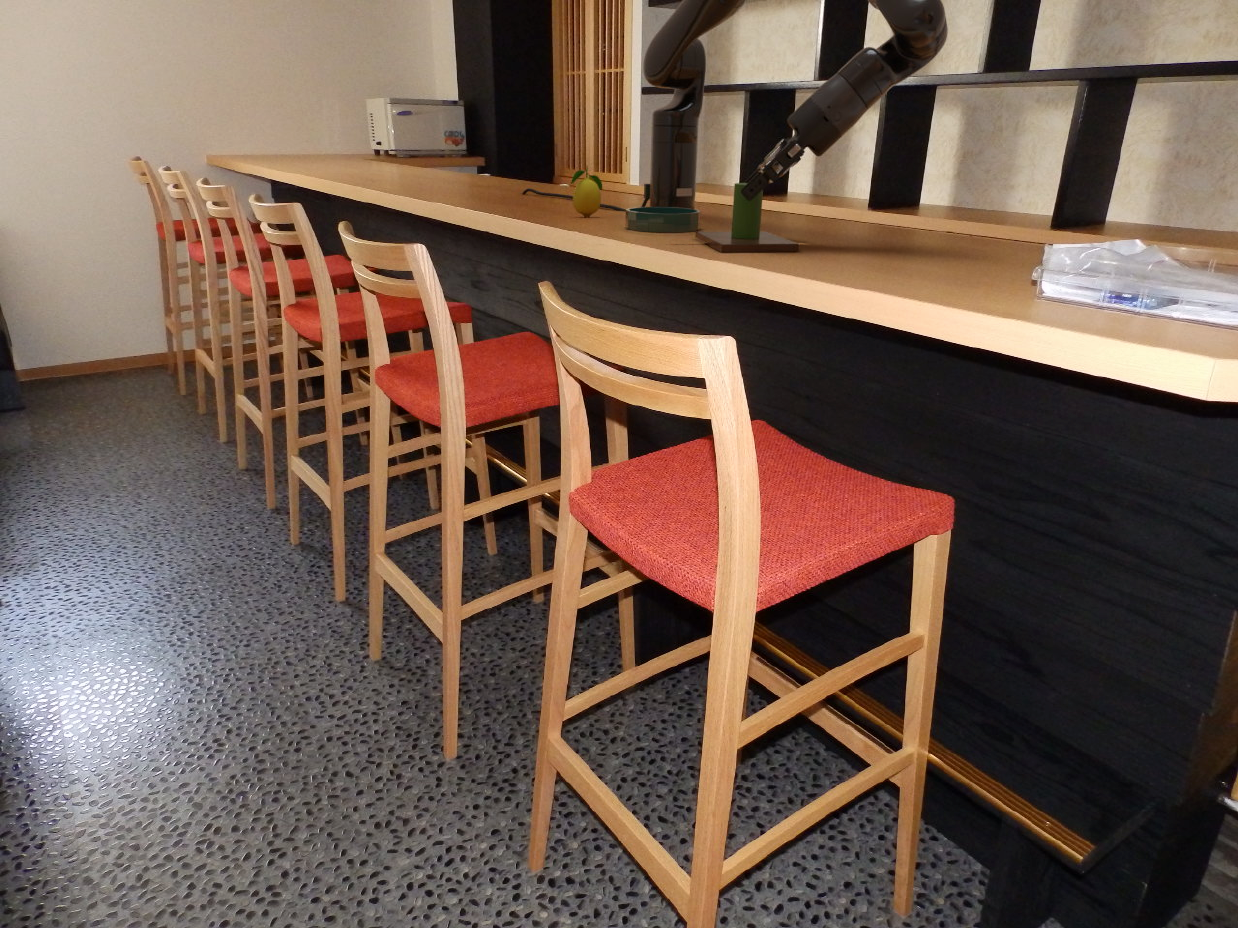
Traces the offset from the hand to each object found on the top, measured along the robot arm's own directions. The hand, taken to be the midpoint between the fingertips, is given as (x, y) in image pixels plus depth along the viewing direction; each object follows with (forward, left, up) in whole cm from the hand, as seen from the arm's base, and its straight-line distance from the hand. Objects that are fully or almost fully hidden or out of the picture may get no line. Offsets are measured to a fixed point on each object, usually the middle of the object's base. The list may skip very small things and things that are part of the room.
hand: (743, 194), depth 130 cm
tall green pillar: (0, +1, -6) cm, 6 cm away
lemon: (-41, -19, -8) cm, 46 cm away
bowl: (-20, -8, -8) cm, 23 cm away
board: (0, +1, -8) cm, 8 cm away
